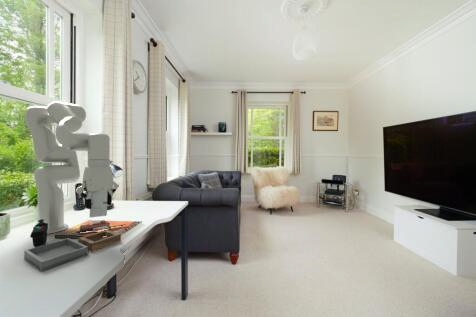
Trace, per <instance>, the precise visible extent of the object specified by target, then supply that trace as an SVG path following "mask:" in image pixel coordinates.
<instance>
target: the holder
mask: <svg viewBox="0 0 476 317" xmlns="http://www.w3.org/2000/svg"><path fill="white" fill-rule="evenodd" d="M103 236H107V238H104V239H102V237H103ZM121 237H122V234H121V233H118V232H114V231H111V230H110V229H109V230H104V231H101V232H97V233H94V232H93V233H89V234H88V235H87V234H86V235H84V236H81V237H78V239H77V240H78V241H77V242H79V243H81V244H83V245H85V246H88V252H89V251H90V252H92V253H93V252H95V251H98V250H101V249H103V248H107V247H109V246H112V245H114V244H117V243H121V242H122V238H121Z"/></svg>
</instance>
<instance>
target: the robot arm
mask: <svg viewBox="0 0 476 317" xmlns="http://www.w3.org/2000/svg"><path fill="white" fill-rule="evenodd" d="M86 117H87V113H86V110H85V108H84V107H82V106H81V105H79V104H75V103H68V102H63V101H52V102H51V103H48V105H47V106H40V105H39V106H38V105H33V106H30V107H27V108H26V110H25V113H24V120H25V124H26V126H27V128H28V130H29V132H30V135H31V138H32V143H33V150H34V156H35V158H36V160H37V162H38V163H40V164H46V165H42V166H39V167H37V168H36V169H35V170H34V173H33V176H34V181H35V185H36V191H37V192H36V194H37V224H38V223H39V222H38V220H41V219H44V221H43V222H44V223H48V229H47V235H49V234H54V233H58V232H59V233H60V232H62V231H65V230H67V229H68V228H69V225H68V224H67V223H65V210H64V208H65V205H64V204H65V203H64V202H65V200H64V192H63V190H62V189H61V187H60V186H59V185H63V184H73V183H75V182H78V181H79V180H80V177H81V173H80V172H81V171H80V165H79V160H78V159H79V158H78V154H77V152H87V166H86V167H84V171H83V175H82V183H81V185H80V186H78V187H77V188H76V189H75V190H74V191H75V193H77V194H78V195H79V196H80V197H81V198H83V200H84V208H85V209H87V210H90V209H91V199H90V196H91V195H92V193H93V192H98V191H101V189H102V187H108V192H107V206H111V205H112V202H113V196H114V194H115V192H116V191H117V189H118V188H119V187H120V185H119V184H118V183H116V182H115V181H114V175H113V169H112V167H111V166H110V165H111V164H113V160H111V159H110V158H111V155H110V152H111V151H110V149H111V148H110V147H111V146H110V143H111V142H110V140H111V138H110V136H109V135H108V134H106V133H98V132H97V133H96V132H95V133H87V132H78V131H79V130H80V129H81V128H82V127H83V122H84V121H85V120H86ZM47 125H48V126H54V127H55V126H56V127H55V133H54V132H53V130H52V129H51V128H49V127H48V126H47ZM47 164H50V165H47ZM83 191H84V192H83Z"/></svg>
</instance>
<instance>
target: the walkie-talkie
mask: <svg viewBox="0 0 476 317" xmlns="http://www.w3.org/2000/svg"><path fill="white" fill-rule="evenodd" d="M123 225H126V226H127V224H126V223H125V224H118V225H113V226H111V225H110V222H109V221H108V220H107V221H106V220H105V219H101V220H95V221H93V222H92V223H90V222H87V224H83V225H80V226H79V230H78V231H76V234H77V233H80V232H86V231H98V230H102V229H108V228H111V227H116V226H122V227H124V226H123ZM108 226H109V227H108Z"/></svg>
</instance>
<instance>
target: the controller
mask: <svg viewBox="0 0 476 317" xmlns="http://www.w3.org/2000/svg"><path fill="white" fill-rule="evenodd" d="M43 221H44V219H41V220H38V219H37V223H36V224H35V225H34V226H33V228H32V231H31V233H30V236H29V237H30V238H31V239H32V244H33V245H32V246H33V248H35V247H38V246H42V245H45V244H47V240H48V234H47V229H48V223H44V222H43ZM38 222H39V223H38Z"/></svg>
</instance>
